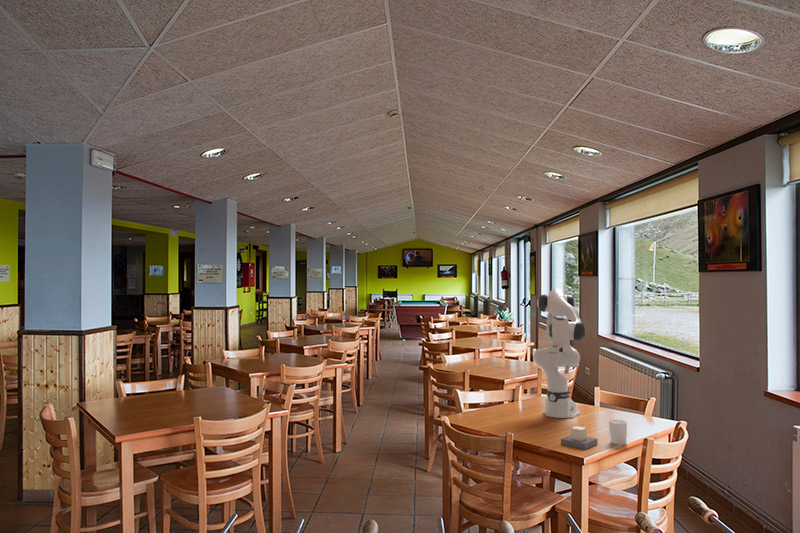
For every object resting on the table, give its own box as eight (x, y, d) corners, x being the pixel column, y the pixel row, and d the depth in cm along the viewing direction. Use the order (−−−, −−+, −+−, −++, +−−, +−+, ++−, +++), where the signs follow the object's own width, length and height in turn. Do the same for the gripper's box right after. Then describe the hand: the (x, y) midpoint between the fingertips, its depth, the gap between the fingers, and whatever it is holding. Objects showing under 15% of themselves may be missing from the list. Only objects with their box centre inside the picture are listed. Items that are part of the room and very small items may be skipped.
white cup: (622, 440, 248) (622, 419, 248) (630, 445, 240) (629, 423, 241) (606, 440, 248) (606, 419, 248) (614, 445, 240) (613, 423, 240)
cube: (576, 436, 246) (576, 426, 246) (586, 438, 242) (586, 428, 243) (571, 438, 243) (571, 428, 243) (581, 440, 239) (581, 430, 239)
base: (573, 439, 251) (573, 433, 251) (597, 444, 242) (597, 438, 242) (561, 444, 243) (560, 438, 243) (585, 449, 234) (584, 444, 234)
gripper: (565, 345, 275) (566, 371, 274) (545, 348, 261) (545, 376, 260) (576, 346, 270) (577, 373, 270) (556, 349, 256) (557, 377, 256)
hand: (561, 374), depth 265 cm, fingers open, 8 cm apart
